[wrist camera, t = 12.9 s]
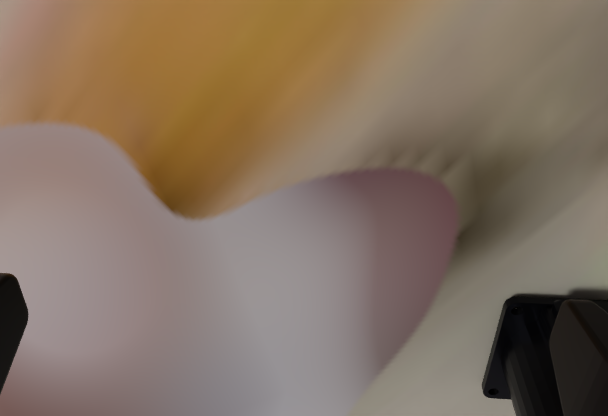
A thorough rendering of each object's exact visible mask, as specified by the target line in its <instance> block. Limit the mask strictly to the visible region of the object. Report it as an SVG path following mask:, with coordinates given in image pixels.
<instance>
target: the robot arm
mask: <svg viewBox="0 0 608 416" xmlns="http://www.w3.org/2000/svg"><path fill="white" fill-rule="evenodd" d="M514 307H519V308H517V309H513V308H514ZM27 321H28V309H27V306H26V303H25V300H24V297H23V294H22V291H21V289H20V286H19V283H18V280H17V278H16V277H15V276H14V275H12V274H8V273H0V394H1V391H2V388H3V386H4V383H5V381H6V378H7V375H8V373H9V370H10V367H11V365H12V362H13V359H14V357H15V354H16V352H17V349H18V346H19V344H20V341H21V338H22V336H23V333H24V330H25V328H26V325H27ZM482 390H483V394H484V395H485V396H486V397H488V398H497V399H511V400H512V403H513V407H514V410H515V414H516V416H608V301H601V300H579V299H558V298H536V297H511V298H509V299H507V300H506V301H505V303H504V305H503V308H502V312H501V316H500V319H499V323H498V327H497V331H496V334H495V338H494V342H493V345H492V349H491V353H490V356H489V360H488V364H487V368H486V371H485V375H484V379H483V382H482Z"/></svg>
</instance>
